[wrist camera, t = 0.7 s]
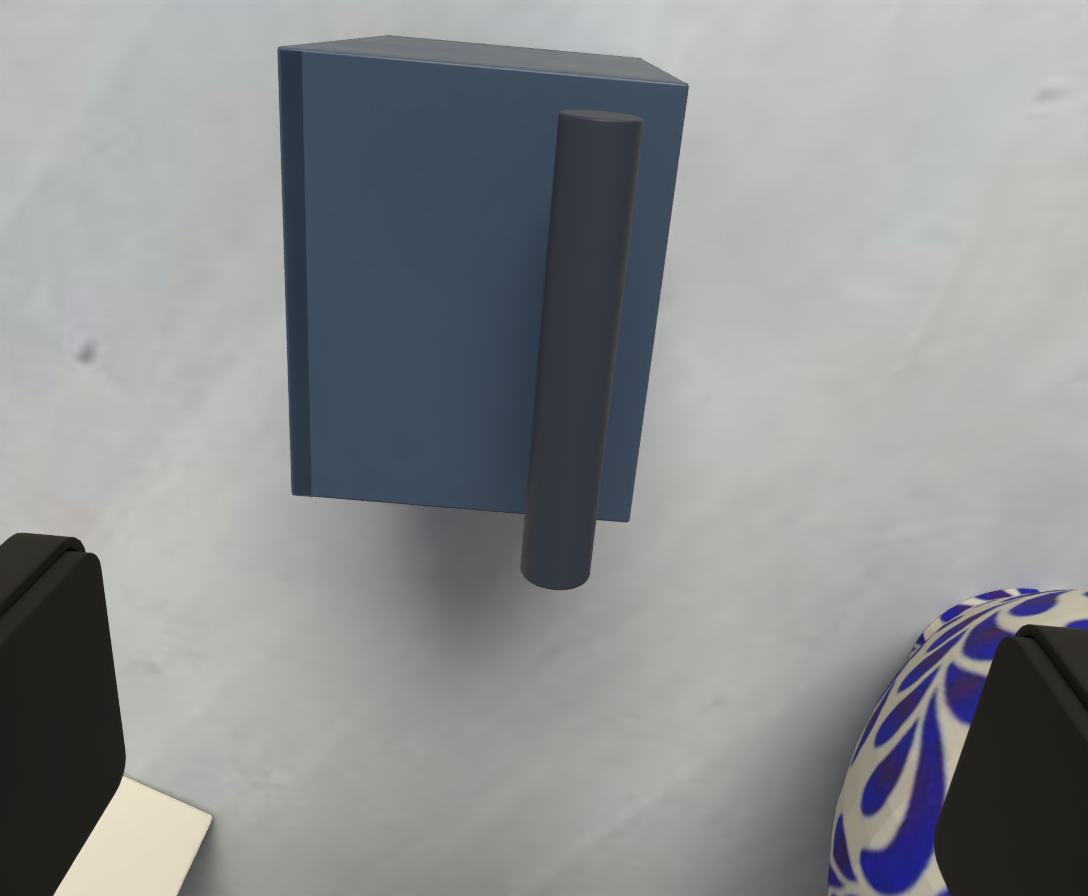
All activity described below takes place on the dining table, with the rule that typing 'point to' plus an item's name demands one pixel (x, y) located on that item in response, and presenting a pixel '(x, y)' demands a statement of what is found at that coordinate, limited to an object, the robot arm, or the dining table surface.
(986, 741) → the robot arm
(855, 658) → the dining table surface
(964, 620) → the vase
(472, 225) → the blue drawer with handle
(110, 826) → the milk carton
